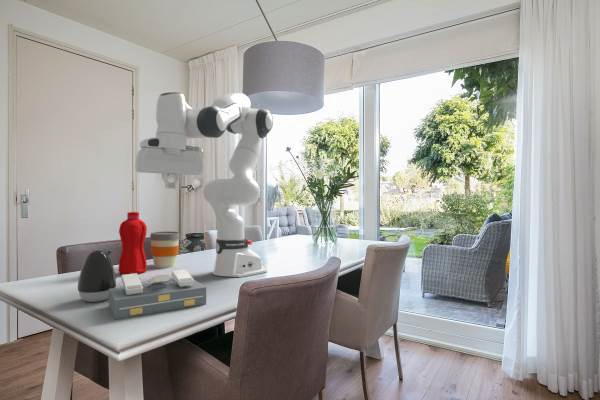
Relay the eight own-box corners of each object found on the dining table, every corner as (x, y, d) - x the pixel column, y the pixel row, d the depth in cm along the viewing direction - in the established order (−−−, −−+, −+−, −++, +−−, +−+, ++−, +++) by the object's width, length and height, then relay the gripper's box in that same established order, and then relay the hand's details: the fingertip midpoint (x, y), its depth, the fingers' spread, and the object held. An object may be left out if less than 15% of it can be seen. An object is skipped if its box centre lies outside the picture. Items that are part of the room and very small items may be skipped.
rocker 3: (184, 273, 111) (185, 268, 111) (193, 284, 104) (194, 279, 103) (171, 275, 109) (172, 270, 108) (180, 286, 101) (180, 281, 101)
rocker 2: (162, 283, 107) (161, 278, 107) (169, 280, 100) (169, 274, 100) (147, 285, 104) (147, 280, 105) (154, 282, 97) (154, 276, 98)
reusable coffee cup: (166, 269, 150) (166, 234, 150) (143, 267, 155) (143, 233, 155) (185, 264, 162) (185, 232, 162) (163, 262, 167) (164, 231, 166)
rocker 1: (136, 277, 103) (137, 272, 103) (142, 292, 96) (143, 287, 96) (121, 279, 101) (121, 274, 100) (126, 294, 94) (126, 289, 93)
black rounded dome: (124, 296, 111) (124, 248, 111) (98, 306, 101) (98, 253, 101) (96, 293, 113) (97, 246, 113) (68, 303, 103) (69, 251, 103)
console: (192, 293, 114) (192, 275, 114) (206, 304, 104) (206, 284, 103) (108, 306, 101) (108, 285, 101) (115, 319, 90) (115, 296, 90)
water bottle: (130, 269, 151) (130, 211, 150) (150, 271, 147) (150, 211, 146) (111, 273, 142) (112, 211, 142) (132, 276, 138) (132, 212, 138)
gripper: (200, 148, 118) (200, 189, 119) (134, 142, 107) (133, 187, 107) (207, 146, 113) (206, 189, 113) (138, 139, 102) (137, 187, 102)
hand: (170, 188), depth 110 cm, fingers closed
